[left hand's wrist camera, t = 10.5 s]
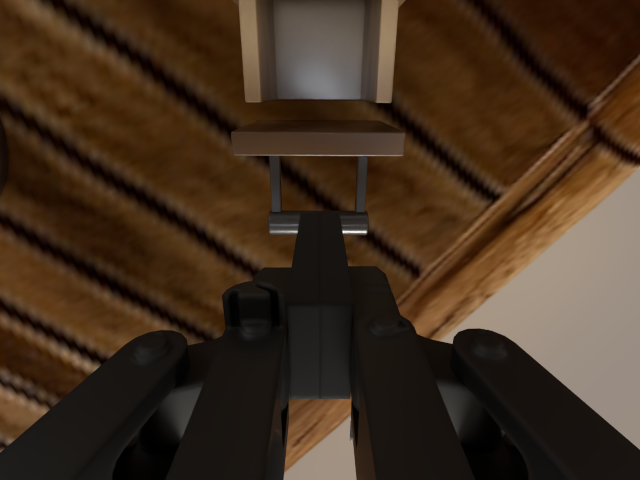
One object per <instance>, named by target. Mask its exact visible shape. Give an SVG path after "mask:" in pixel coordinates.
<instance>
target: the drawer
mask: <svg viewBox="0 0 640 480" xmlns="http://www.w3.org/2000/svg"><path fill="white" fill-rule="evenodd" d="M238 1H239V16H240V30H241V45H242V60H243V75H244V89H245V101H246V102H265V101H272V100H363V101H370V102H376V103H391V101H392V89H393V75H394V61H395V47H396V33H397V19H398V5H399V0H238ZM405 135H406V133H405V132H403V131H401V130H398V129H396V128H394V127H392V126H390V125H388V124H385V123H383V122H381V121H338V120H258V121H256V122H253V123H251V124H249V125H246V126H244V127H242V128H240V129H237V130H235V131H233V132H231V138H232V150H233V155H235V156H269V162H270V183H271V204H272V211H270V212H269V218H268V227H269V233H270V234H271V235H297V232H298V226H299V220H300V214H301V213H339V214H340V220H341V226H342V232H343V235H367V233H368V213H367V211H365V202H366V183H367V164H368V156H403V155H404V147H405ZM280 156H357V175H356V199H355V211H281V210H282V200H281V173H280Z"/></svg>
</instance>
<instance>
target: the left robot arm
mask: <svg viewBox="0 0 640 480" xmlns="http://www.w3.org/2000/svg"><path fill="white" fill-rule="evenodd" d="M7 171H8V152H7V146H6V141H5V136H4V132H3V130H2V127H1V124H0V195H1V192H2V190H3V188H4V185H5V182H6V177H7ZM222 300H223V308H224V317H225V326H226V329H225V331H224V334H223V336H221V337H219V338H217V339H214V340H211V341H207V342H203V343H198V344H193V345H187V339H186V338H185V337H184V336H183V335H182V334H181V333H178V332H175V331H169V330H160V331H155V332H154V331H153V332H149V333H146V334H144V335H141V336H139V337H136V338H135V339H133V340H132V341H130V342H129V343H127V344H126V345H124V346H123V347H122V348H121V349H120V350H119V351H117V352H116V353H115V354H114V355H113V356H112V357H111V358H109V359H108V360H107V361H106V362H105V363H104V364H102V365H101V366H100V367H99V368H98V369H97V370H95V371H94V372H93V373H92V374H91V375H90V376H89V377H87V378H86V379H85V380H84V381H83V382H82V383H80V384H79V385H78V386H77V387H76V388H75V389H74V390H72V391H71V392H70V393H69V394H68V395H67V396H65V397H64V398H63V399H62V400H61V401H60V402H58V403H57V404H56V405H55V406H54V407H53V408H52V409H50V410H49V411H48V412H47V413H46V414H45V415H43V416H42V417H41V418H40V419H39V420H38V421H37V422H35V423H34V424H33V425H32V426H31V427H30V428H28V429H27V430H26V431H25V432H24V433H23V434H22V435H20V436H19V437H18V438H17V439H16V440H15V441H13V442H12V443H11V444H10V445H9V446H8V447H6V448H5V449H4V450H3V451H2V452H1V453H0V480H283V477H284V467H285V456H286V445H287V434H288V423H289V403H288V400H289V395H290V399H350V395H351V398H352V403H351V427H350V441H353V445H354V455H355V466H356V477H357V480H640V450H639V449H638V448H637V447H636V446H635V445H633V444H632V443H631V442H630V441H629V440H628V439H626V438H625V437H624V436H623V435H622V434H621V433H619V432H618V431H617V430H616V429H615V428H614V427H612V426H611V425H610V424H609V423H608V422H607V421H606V420H604V419H603V418H602V417H601V416H600V415H599V414H597V413H596V412H595V411H594V410H593V409H592V408H590V407H589V406H588V405H587V404H586V403H585V402H583V401H582V400H581V399H580V398H579V397H578V396H576V395H575V394H574V393H573V392H572V391H571V390H569V389H568V388H567V387H566V386H565V385H564V384H562V383H561V382H560V381H559V380H558V379H557V378H555V377H554V376H553V375H552V374H551V373H549V372H548V371H547V370H546V369H545V368H544V367H543V366H541V365H540V364H539V363H538V362H537V361H536V360H534V359H533V358H532V357H531V356H530V355H529V354H527V353H526V352H525V351H524V350H523V349H522V348H520V347H519V346H518V345H517V344H516V343H514V342H513V341H511V340H510V339H508V338H507V337H505V336H503V335H501V334H498V333H496V332H493V331H490V330H485V329H466V330H463V331H460V332H458V333H457V334H456V336H455V337H454V339H453V344H450V343H445V342H440V341H435V340H431V339H428V338H425V337H422V336H420V335H418V334H417V333H416V331H415V328H414V326H413V325H412V324H411V322H410V321H409V320H407V319H406V318H404V317H403V316H401V315H400V313H399V310H398V307H397V304H396V302H395V299H394V296H393V293H392V292H391V288H390V285H389V282H388V280H387V277H386V274H385V273H384V272H382V271H381V270H380V269H379V268H377V267H376V266H348V263H347V256H346V250H345V244H344V238H343V232H342V226H341V220H340V214H339V213H301V214H300V220H299V226H298V232H297V238H296V244H295V250H294V256H293V263H292V268H263V269H262V270H260V271H259V272H258V273H257V274H256V275H255V276H254V278H253V281H250V282H244V283H240V284H237V285H235V286H233V287H231V288H229V289H227V290H226V291H225V293H224V294H223V295H222Z"/></svg>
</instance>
